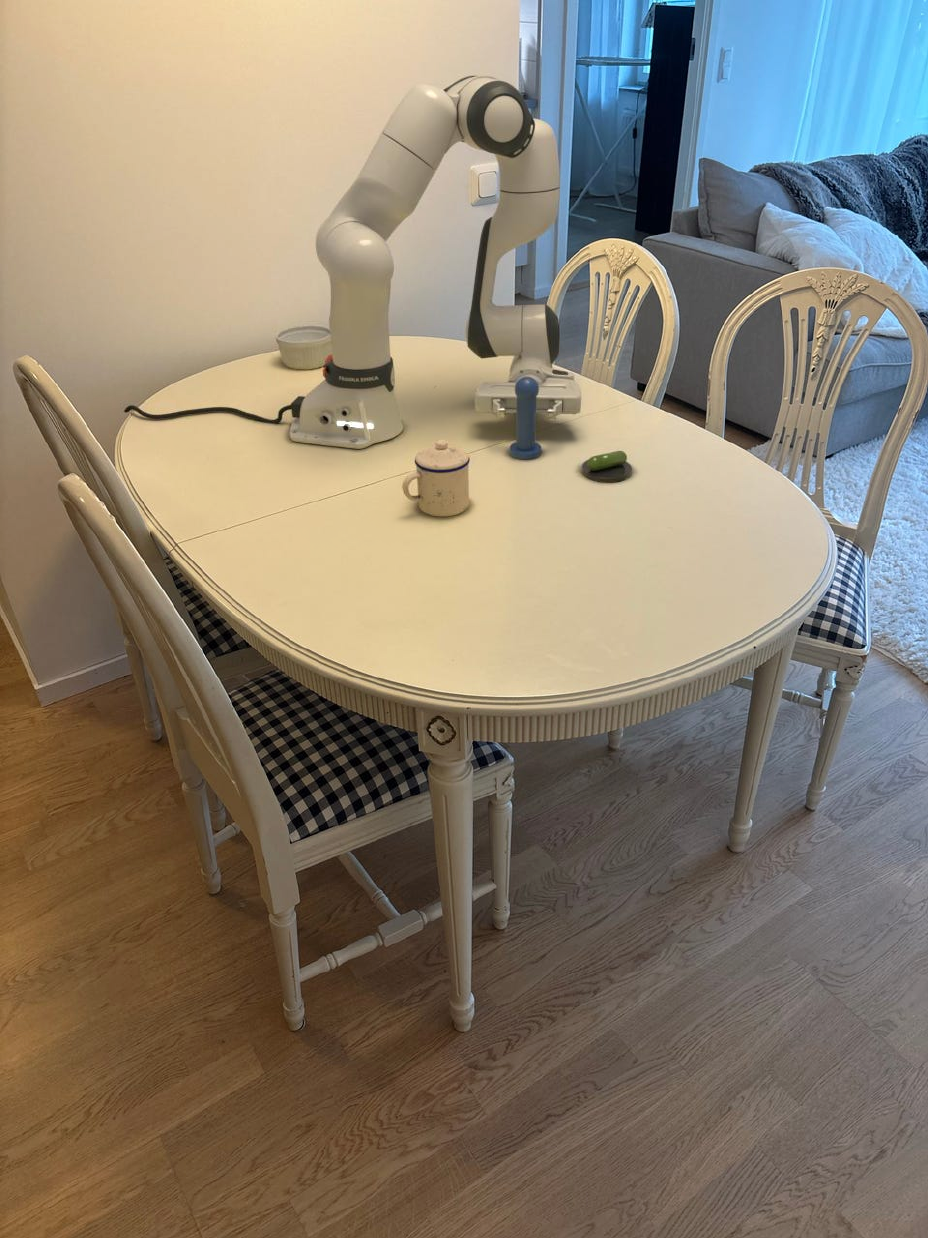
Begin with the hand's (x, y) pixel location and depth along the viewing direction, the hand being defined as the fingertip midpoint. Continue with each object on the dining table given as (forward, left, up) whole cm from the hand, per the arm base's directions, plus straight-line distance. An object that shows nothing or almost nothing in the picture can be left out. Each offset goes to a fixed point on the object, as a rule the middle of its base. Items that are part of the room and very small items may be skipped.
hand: (526, 414), depth 168 cm
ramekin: (-54, +48, -8) cm, 72 cm away
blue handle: (0, 0, -8) cm, 8 cm away
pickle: (+15, -8, -8) cm, 18 cm away
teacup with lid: (-14, -24, -8) cm, 28 cm away
